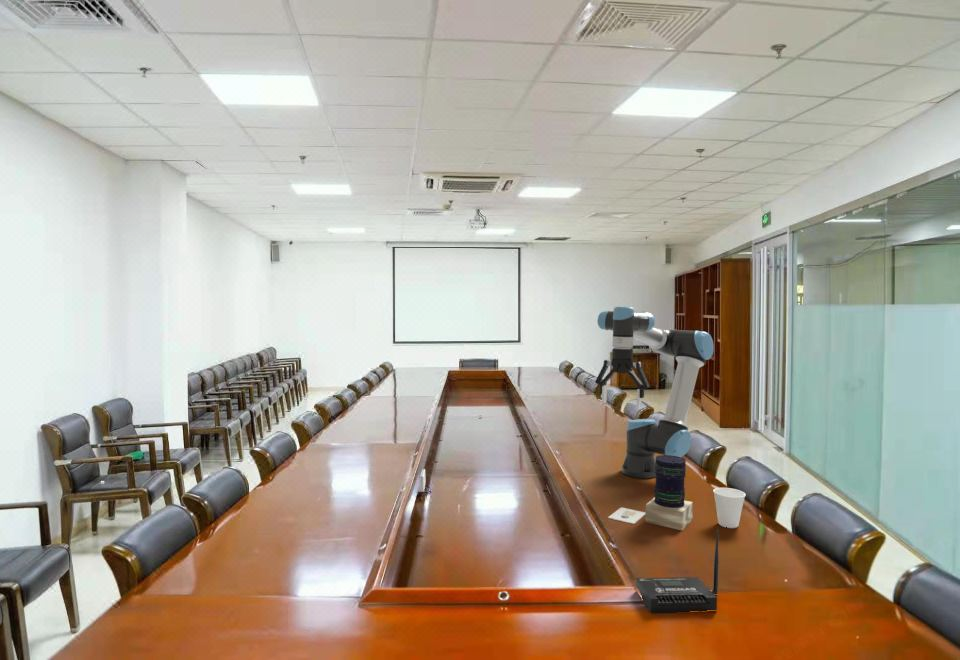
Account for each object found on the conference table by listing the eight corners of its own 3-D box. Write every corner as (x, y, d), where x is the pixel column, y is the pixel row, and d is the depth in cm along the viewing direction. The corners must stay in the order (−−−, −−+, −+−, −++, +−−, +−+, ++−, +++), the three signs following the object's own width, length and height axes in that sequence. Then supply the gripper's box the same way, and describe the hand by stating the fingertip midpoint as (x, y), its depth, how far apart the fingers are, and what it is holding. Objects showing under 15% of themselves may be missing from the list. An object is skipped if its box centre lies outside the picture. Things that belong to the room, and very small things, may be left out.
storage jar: (650, 497, 202) (651, 454, 201) (679, 498, 202) (680, 455, 201) (658, 507, 192) (659, 462, 191) (688, 508, 192) (690, 463, 191)
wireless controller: (653, 619, 136) (655, 546, 135) (633, 589, 150) (635, 523, 149) (736, 617, 137) (739, 545, 137) (709, 588, 151) (711, 522, 150)
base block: (656, 511, 205) (657, 494, 205) (692, 519, 198) (693, 501, 198) (645, 522, 195) (645, 504, 195) (682, 530, 188) (682, 512, 188)
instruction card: (621, 508, 208) (621, 507, 208) (646, 513, 203) (646, 512, 203) (608, 518, 199) (608, 517, 199) (633, 524, 193) (633, 522, 193)
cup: (748, 532, 188) (749, 498, 187) (715, 529, 190) (716, 495, 189) (740, 520, 198) (741, 488, 197) (709, 518, 200) (710, 486, 199)
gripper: (587, 346, 223) (586, 402, 224) (652, 350, 209) (650, 409, 210) (595, 345, 229) (594, 399, 230) (659, 349, 215) (657, 407, 216)
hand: (621, 404), depth 220 cm, fingers open, 13 cm apart
